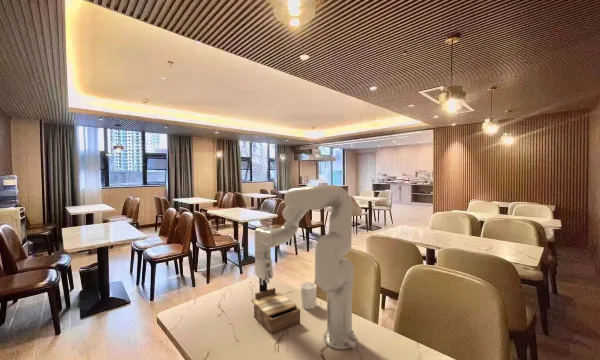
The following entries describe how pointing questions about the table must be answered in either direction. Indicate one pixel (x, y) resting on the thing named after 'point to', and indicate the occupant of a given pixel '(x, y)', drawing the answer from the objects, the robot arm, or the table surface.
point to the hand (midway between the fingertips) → (263, 292)
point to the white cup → (308, 295)
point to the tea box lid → (272, 302)
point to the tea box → (278, 319)
